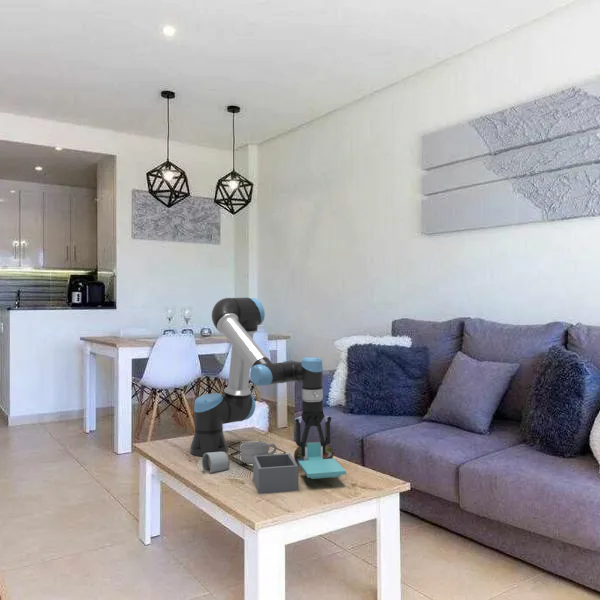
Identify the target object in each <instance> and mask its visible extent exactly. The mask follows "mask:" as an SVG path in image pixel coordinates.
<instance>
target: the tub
mask: <svg viewBox="0 0 600 600" xmlns="http://www.w3.org/2000/svg"><path fill="white" fill-rule="evenodd" d="M252 480H253V482H254V485H255V488H256V490H257V493H258V494H259V495H261V494H264V495H265V494H274V493H275V494H276V493H288V492H290V493H291V492H299V487H300V486H299V466H298V464H297V463H296V462H295V459H294V456H292V455H291V453H278V454H277V453H274V454H273V455H259V456H253V466H252Z"/></svg>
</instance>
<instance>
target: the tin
mask: <svg viewBox="0 0 600 600" xmlns="http://www.w3.org/2000/svg"><path fill="white" fill-rule="evenodd" d="M320 444H321V442H320ZM305 446H306V445H305ZM333 458H334V452H333V448H332V447H331V446H330V444H327V445H326V446H325V455H323V459H333ZM293 459H294V460H295V462H296V463H297V465H298V467H300V466H299V464H298V461H304V456H302V455H301V447H300V446H297V448H296V449H295V450H294V453H293Z"/></svg>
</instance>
